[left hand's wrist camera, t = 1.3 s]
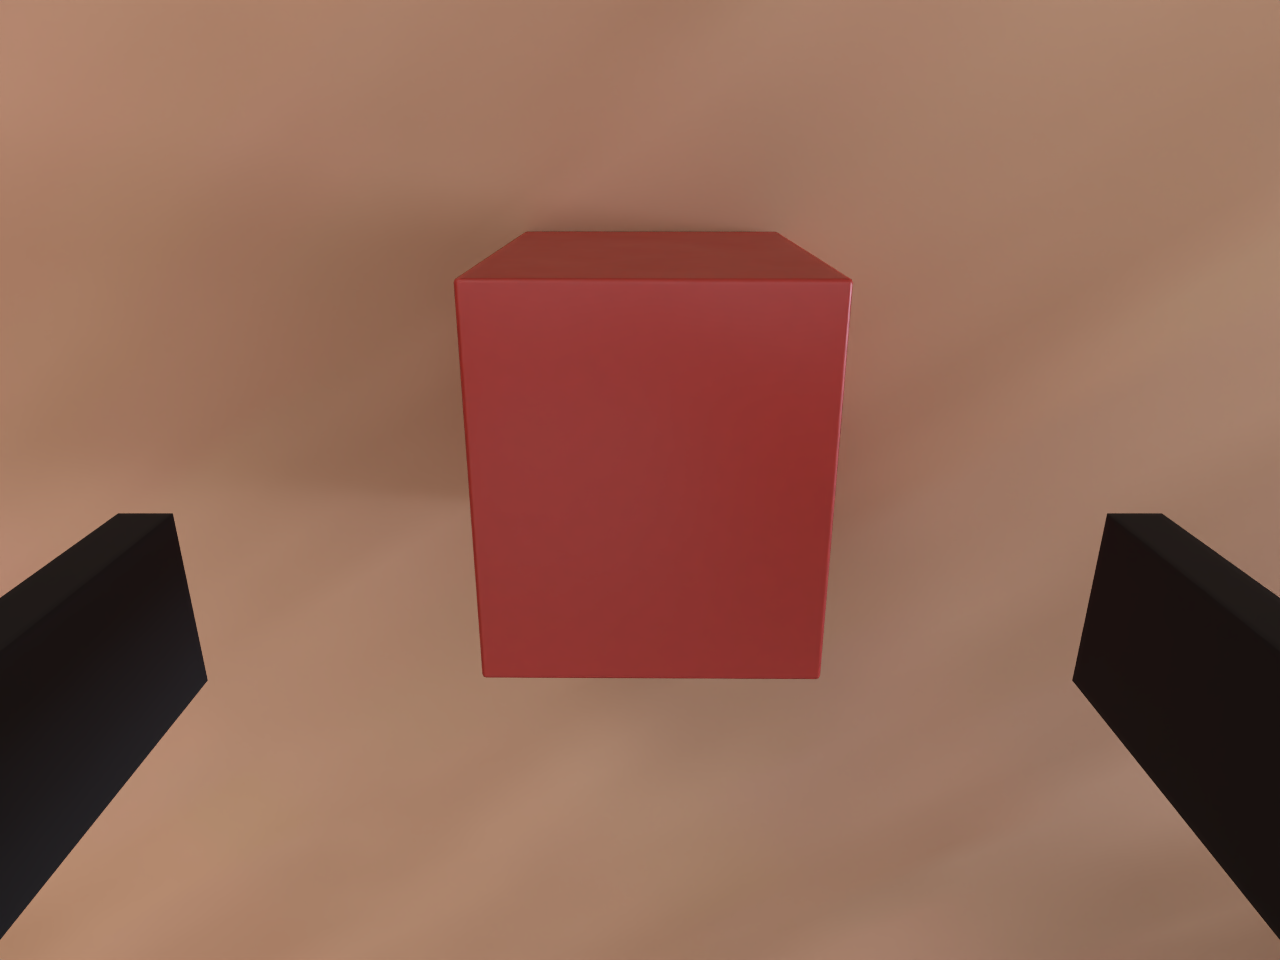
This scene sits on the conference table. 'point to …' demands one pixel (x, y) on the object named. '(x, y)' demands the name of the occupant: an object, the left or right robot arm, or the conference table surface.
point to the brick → (652, 452)
